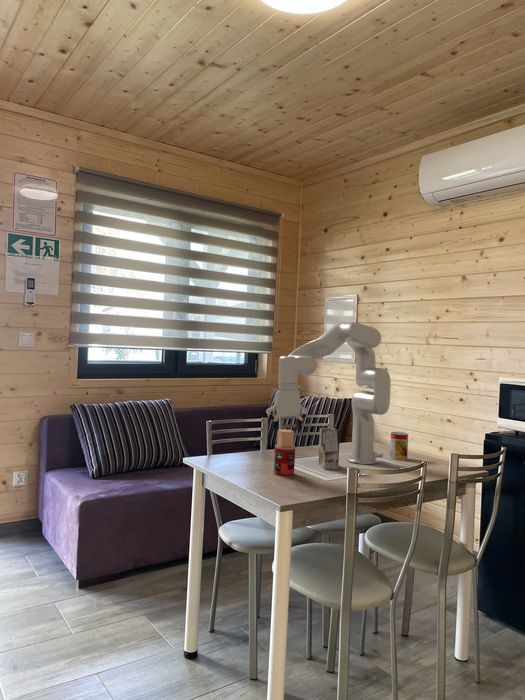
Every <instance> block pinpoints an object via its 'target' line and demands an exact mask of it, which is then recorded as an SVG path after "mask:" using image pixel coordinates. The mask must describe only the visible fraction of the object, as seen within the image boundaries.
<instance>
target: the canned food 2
mask: <svg viewBox="0 0 525 700" xmlns="http://www.w3.org/2000/svg"><path fill="white" fill-rule="evenodd" d="M389 441H390V443H389V444H390V447H389V459H390V460H394V461H402V462H403V461H407V460H408V447H409V446H408V445H409V433H408V432H403V431H391V432H390V440H389Z"/></svg>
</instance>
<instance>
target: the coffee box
mask: <svg viewBox="0 0 525 700" xmlns="http://www.w3.org/2000/svg"><path fill="white" fill-rule="evenodd" d="M340 438H341V431H340V430H339V429H337V428H336V427H319V439H318V440H319V442H318V443H319V444H318V446H319V447H318V465H319V466H320V467H321V468H322V467H323V470H339V463H340V462H339V461H340V441H341V440H340Z"/></svg>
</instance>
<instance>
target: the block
mask: <svg viewBox="0 0 525 700" xmlns="http://www.w3.org/2000/svg"><path fill="white" fill-rule="evenodd" d="M294 441H295V431H294V430H291V429H277V441H276V445H278V446H280V447H293V446H295V445H294Z"/></svg>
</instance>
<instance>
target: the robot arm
mask: <svg viewBox="0 0 525 700" xmlns="http://www.w3.org/2000/svg"><path fill="white" fill-rule="evenodd" d="M381 342H382V334H381V333H380V331H379V330H378V329H377V328H375V327H372V326H369V325H367V324H362V323H359V322H356V321H348V322H346V321H344V322H343V321H341V322H340V321H339V322H337V323H335V324H334V325H332V326H331V327H330V328H329V329H328V330H326V332H324V333H323V334H322V335H321V336H319V337H318V338H316V339H314V340H311V341H309V342H308V343H307V342H306V343H305V344H303V345H300V346H299V347H298V348H295V349H294V350H293V351H292V352H291V353H289V355H282V356H280V357H279V359H278V384H277V385H278V386H277V387H278V390H276V391H275V395H274V399H273V402H274V403H273V405H272V406H270V407H269V408H267V409H265V412H266V414H267V417H268V418H269V419H270V420H271V421H272V422H271V423H272V425H271V428H272V431H273V432H276V433H278V425H279V424H278V419H279V418H280V417H282V418H283V417H284V418H285V417H286V418H287V417H289V418H290V417H296V423H295V430H296V431H298V432H301V429H302V428H303V427H302V423H303V420H304V419H305V418H306V416H307V414H308V412H309V409H308V408H306V407H304V406H303V405H302V404H301V397H300V391H299V389H301V388H302V385H301V384H299V383H298V378H299V375H311V374H313V373H315V371H316V370H317V368H318V363H317V360H316V359H320V358H324V357H327V356H330V355H331V354H333V353H334V352H335V351H337V350H338V349H339V348H340V347H341V346H342V345H344V344H345V343H347V344H348V346H349V347H350V348H351V349H352V350H353V352H354V354H355V361H356V362H355V363H356V365H355V383H356V385H357V386H358V387H360V388H363V389H371V390H373V391H369V390H358V391H356V392H354V393H353V395H352V397H351V410H352V433H351V434H352V437H351V455H350V456H348V457H347V461H348V462H350V463H354V464H359V465H374V464H376V463H377V458H383V457H384V453H382V452H376V451H374V443H375V442H374V439H375V419H374V415H379V416H380V415H385V414H387V412H388V411H389V408H390V403H391V384H392V383H391V376H390V372H388V370H387V369H386V368H383V367H376V354H375V351H374V349H375V348H376V347H378V346H379V345H380V344H381ZM272 411H273V414H272ZM301 411H302V413H301Z"/></svg>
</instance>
